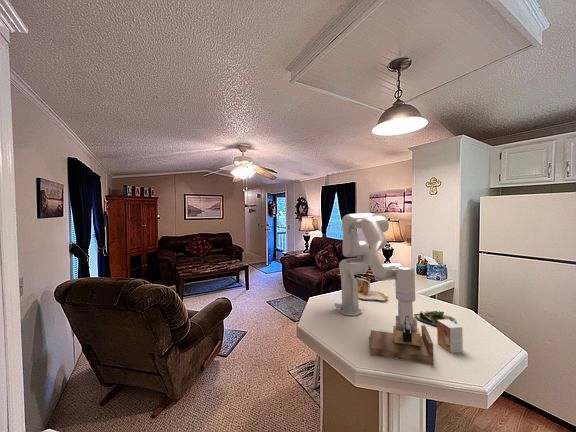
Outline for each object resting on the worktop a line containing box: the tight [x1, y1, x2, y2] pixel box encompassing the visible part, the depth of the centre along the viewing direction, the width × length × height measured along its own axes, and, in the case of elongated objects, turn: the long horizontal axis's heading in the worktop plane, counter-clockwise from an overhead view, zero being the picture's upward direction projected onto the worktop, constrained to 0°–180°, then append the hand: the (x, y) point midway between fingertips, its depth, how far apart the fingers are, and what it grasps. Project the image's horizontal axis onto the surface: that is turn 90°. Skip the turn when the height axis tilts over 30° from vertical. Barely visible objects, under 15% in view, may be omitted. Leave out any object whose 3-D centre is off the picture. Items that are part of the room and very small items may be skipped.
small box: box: [436, 319, 464, 354], centre depth 105 cm, size 8×6×10 cm
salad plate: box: [413, 310, 457, 328], centre depth 133 cm, size 19×18×5 cm
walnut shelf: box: [369, 324, 435, 365], centre depth 105 cm, size 23×16×8 cm
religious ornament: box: [355, 277, 389, 302], centre depth 170 cm, size 25×20×12 cm
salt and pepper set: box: [392, 315, 422, 346], centre depth 104 cm, size 10×5×10 cm, turn 70°
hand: (406, 337), depth 104 cm, fingers closed on salt and pepper set, 5 cm apart
